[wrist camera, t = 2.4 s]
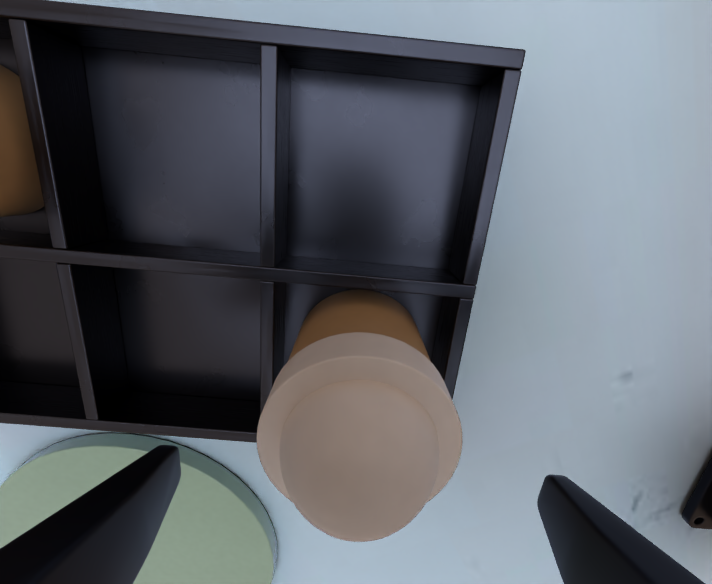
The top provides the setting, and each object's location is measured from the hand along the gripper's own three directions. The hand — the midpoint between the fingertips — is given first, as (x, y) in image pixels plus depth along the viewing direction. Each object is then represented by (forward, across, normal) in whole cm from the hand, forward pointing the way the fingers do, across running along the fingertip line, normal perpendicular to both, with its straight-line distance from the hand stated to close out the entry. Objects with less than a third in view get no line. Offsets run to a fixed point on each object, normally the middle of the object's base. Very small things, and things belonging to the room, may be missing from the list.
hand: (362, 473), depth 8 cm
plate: (+7, +11, +14) cm, 19 cm away
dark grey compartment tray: (+7, +7, -4) cm, 11 cm away
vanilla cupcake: (+7, 0, 0) cm, 7 cm away
